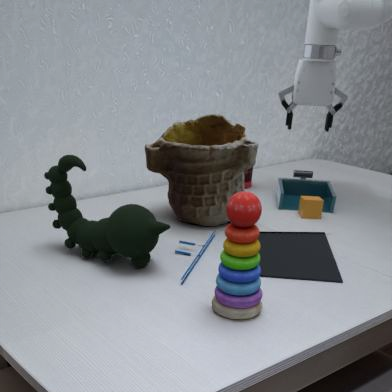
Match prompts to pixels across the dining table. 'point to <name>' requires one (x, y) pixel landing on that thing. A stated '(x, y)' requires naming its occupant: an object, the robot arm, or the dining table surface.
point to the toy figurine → (102, 222)
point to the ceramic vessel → (202, 166)
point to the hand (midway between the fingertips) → (307, 129)
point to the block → (310, 207)
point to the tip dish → (304, 191)
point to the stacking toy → (240, 260)
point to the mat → (297, 256)
